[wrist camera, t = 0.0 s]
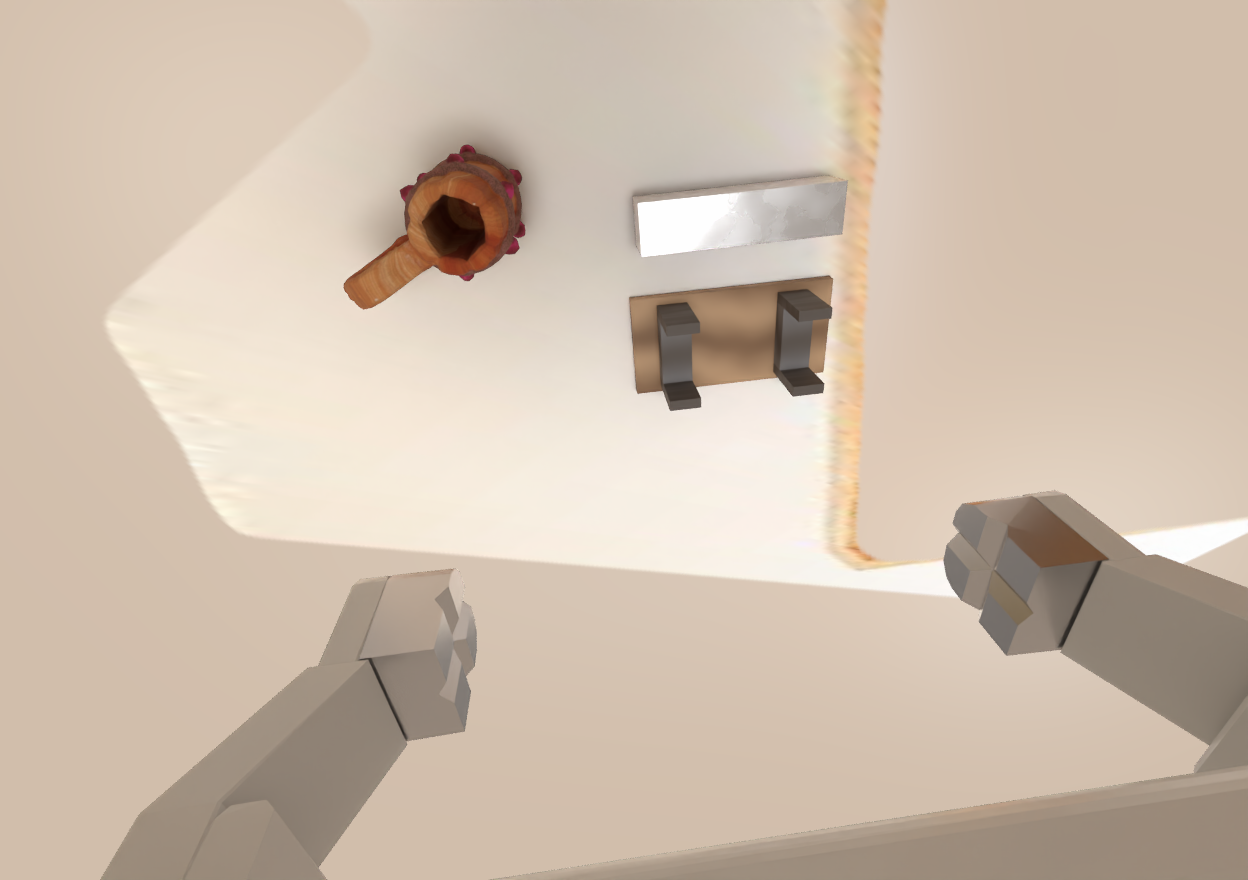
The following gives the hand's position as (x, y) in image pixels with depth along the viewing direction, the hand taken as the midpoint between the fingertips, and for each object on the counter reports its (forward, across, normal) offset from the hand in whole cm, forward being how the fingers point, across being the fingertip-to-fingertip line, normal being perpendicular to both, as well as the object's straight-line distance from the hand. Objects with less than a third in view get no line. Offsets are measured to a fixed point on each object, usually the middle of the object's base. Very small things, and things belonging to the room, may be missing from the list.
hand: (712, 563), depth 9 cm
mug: (+49, +12, +1) cm, 50 cm away
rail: (+49, -13, +3) cm, 51 cm away
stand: (+48, -13, +15) cm, 52 cm away
